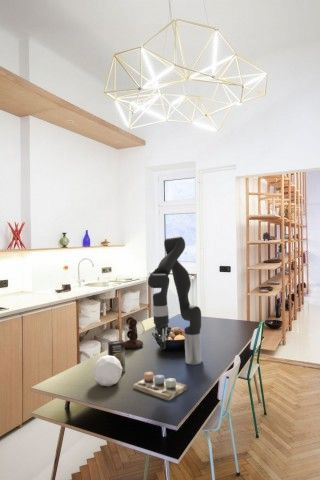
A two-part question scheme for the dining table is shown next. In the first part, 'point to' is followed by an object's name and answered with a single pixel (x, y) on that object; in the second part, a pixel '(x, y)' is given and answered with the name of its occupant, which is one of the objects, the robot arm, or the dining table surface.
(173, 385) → the pale green button
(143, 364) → the dining table surface
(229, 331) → the dining table surface
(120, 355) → the coffee box
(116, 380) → the geometric shape
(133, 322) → the dark brown tall piece
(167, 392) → the button board
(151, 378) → the two dot button
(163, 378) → the three dot button
